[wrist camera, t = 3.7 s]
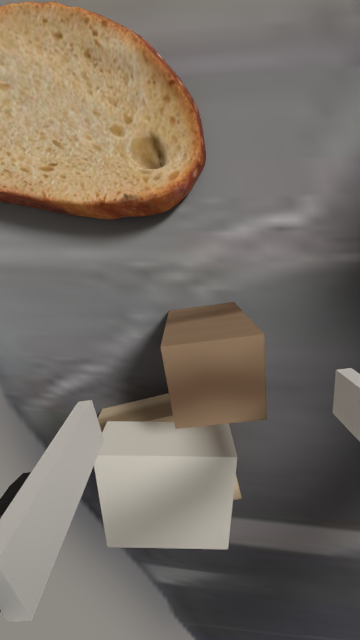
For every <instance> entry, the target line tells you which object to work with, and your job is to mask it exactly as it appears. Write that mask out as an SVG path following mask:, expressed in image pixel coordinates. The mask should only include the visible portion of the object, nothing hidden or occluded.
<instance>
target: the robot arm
mask: <svg viewBox="0 0 360 640" xmlns="http://www.w3.org/2000/svg"><path fill="white" fill-rule="evenodd" d="M333 414H334V415H335V416H336V417H337V418H338V419H339V420H340V421H341V422H342V423H343V425H344V426H345V427H346V428H347V429H348V430H349V431H350V432H351V433H352V434H353V435H354V436H355V437H356V438H357V439H358V440H359V441H360V374H359V373H358V372H356V371H355V370H353V369H352V368H346V369H338V370H336V375H335V388H334V401H333ZM103 441H104V438H103V435H102V432H101V428H100V425H99V422H98V419H97V415H96V412H95V409H94V406H93V403H92V400H89V401H81V402H78V403H77V404H76V406H75V407H74V409H73V410H72V412H71V413H70V415H69V416H68V418H67V419H66V421H65V422H64V424H63V425H62V427H61V428H60V430H59V431H58V433H57V434H56V436H55V437H54V439H53V440H52V442H51V443H50V445H49V446H48V448H47V449H46V451H45V452H44V454H43V456H42V457H41V459H40V460H39V461H38V463H37V465H36V466H35V467H34V469H33V470H32V472H29V473H23V474H22V475H21V476H20V477H19V478H18V479H17V480H16V481H15V482H14V483H12V484H11V485H10V486H9V488H8V489H7V491H6V492H5V493H4V495H3V496H2V498H1V499H0V612H1V613H2V615H3V616H4V617H5V619H6V620H7V622H18V621H30V620H32V619H33V617H34V615H35V612H36V610H37V607H38V605H39V602H40V600H41V597H42V595H43V592H44V589H45V587H46V584H47V582H48V580H49V577H50V575H51V572H52V569H53V567H54V564H55V562H56V559H57V557H58V554H59V551H60V549H61V547H62V544H63V542H64V539H65V537H66V534H67V532H68V529H69V527H70V524H71V522H72V519H73V517H74V514H75V511H76V509H77V506H78V503H79V501H80V499H81V496H82V494H83V491H84V489H85V486H86V484H87V481H88V479H89V476H90V474H91V471H92V469H93V466H94V464H95V461H96V459H97V456H98V454H99V451H100V449H101V446H102V443H103Z"/></svg>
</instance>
